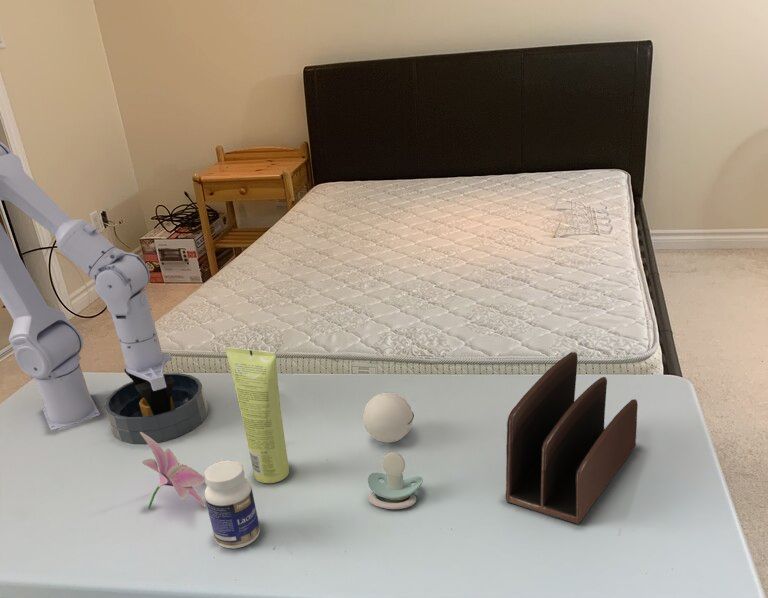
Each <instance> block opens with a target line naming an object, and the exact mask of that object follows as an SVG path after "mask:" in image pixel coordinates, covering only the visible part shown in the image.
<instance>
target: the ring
mask: <svg viewBox="0 0 768 598" xmlns="http://www.w3.org/2000/svg"><path fill="white" fill-rule="evenodd" d="M139 405H140V408H141V412H142V415H143V417H146V416H153V413H152V411H151V409H150V407H149V405H148V403H147V401H146V399H145V398H142V399H141V400H140V402H139ZM173 409H175V408H174V404H173V400H172V396H171V410H173Z"/></svg>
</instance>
